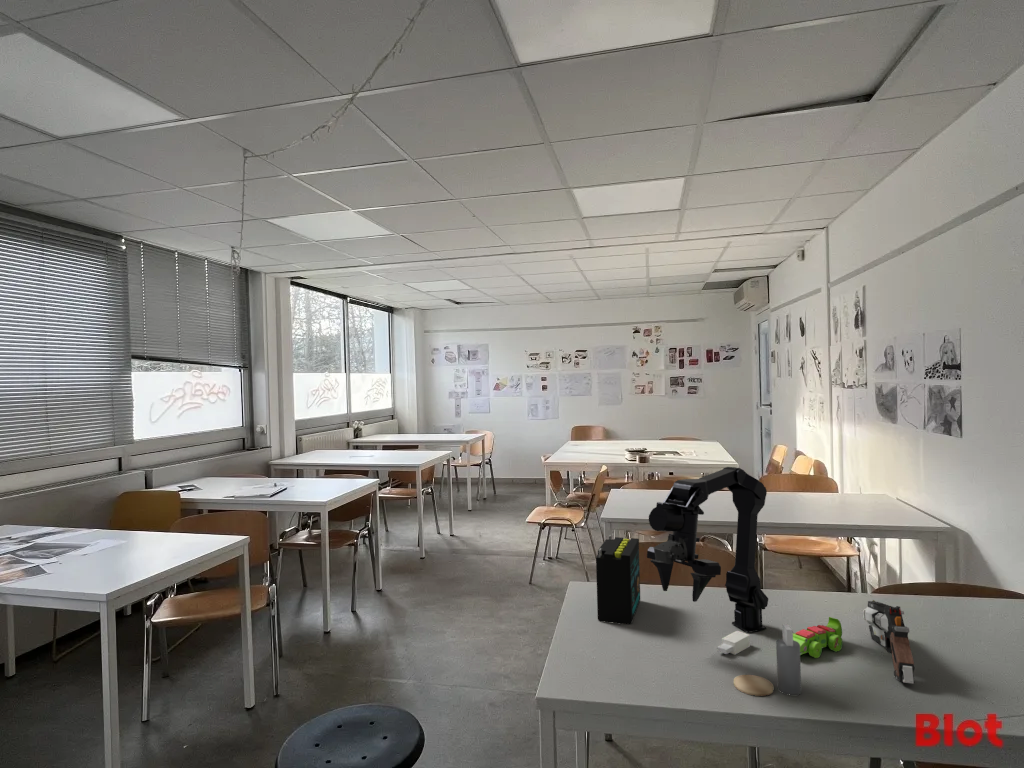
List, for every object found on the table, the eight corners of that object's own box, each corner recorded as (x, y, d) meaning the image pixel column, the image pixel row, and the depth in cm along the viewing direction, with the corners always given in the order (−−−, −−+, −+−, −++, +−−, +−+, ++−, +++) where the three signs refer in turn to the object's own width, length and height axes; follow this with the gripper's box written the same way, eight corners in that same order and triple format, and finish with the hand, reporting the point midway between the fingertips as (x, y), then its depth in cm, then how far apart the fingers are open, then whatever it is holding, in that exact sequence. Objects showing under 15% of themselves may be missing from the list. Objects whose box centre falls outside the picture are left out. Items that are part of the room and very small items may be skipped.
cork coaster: (754, 674, 131) (754, 672, 131) (782, 691, 123) (782, 688, 123) (725, 681, 128) (725, 678, 128) (751, 699, 120) (751, 696, 120)
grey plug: (774, 684, 126) (772, 622, 126) (797, 685, 126) (795, 622, 126) (781, 695, 122) (779, 630, 122) (804, 696, 121) (802, 631, 121)
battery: (609, 597, 181) (607, 534, 182) (640, 600, 178) (638, 535, 178) (597, 621, 163) (595, 550, 164) (631, 625, 160) (629, 552, 160)
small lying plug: (737, 642, 148) (736, 630, 148) (750, 646, 145) (749, 634, 145) (715, 654, 142) (714, 642, 142) (728, 659, 139) (728, 646, 139)
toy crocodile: (800, 665, 135) (799, 638, 135) (775, 653, 141) (775, 628, 141) (853, 646, 144) (853, 622, 144) (828, 636, 150) (828, 613, 150)
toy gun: (887, 662, 147) (881, 599, 151) (922, 685, 121) (913, 609, 125) (867, 659, 148) (861, 598, 152) (896, 682, 123) (889, 607, 127)
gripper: (634, 524, 147) (628, 587, 145) (693, 539, 131) (688, 609, 130) (664, 525, 153) (659, 585, 151) (724, 539, 137) (719, 606, 136)
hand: (679, 596), depth 142 cm, fingers open, 9 cm apart
